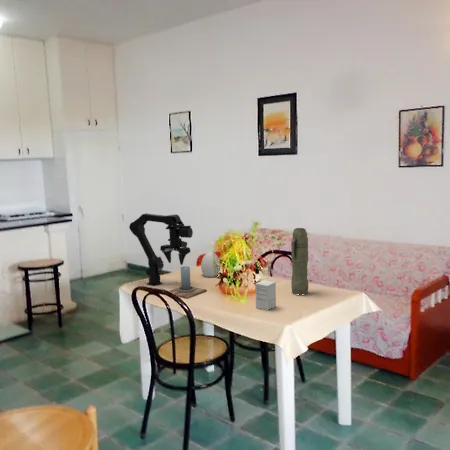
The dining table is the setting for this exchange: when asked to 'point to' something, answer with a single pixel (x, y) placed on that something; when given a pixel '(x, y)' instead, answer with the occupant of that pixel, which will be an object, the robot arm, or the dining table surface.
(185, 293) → the collar board
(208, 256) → the decorative egg
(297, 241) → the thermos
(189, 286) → the sleeve
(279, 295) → the dining table surface
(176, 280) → the dining table surface
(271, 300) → the grey drawer cabinet
